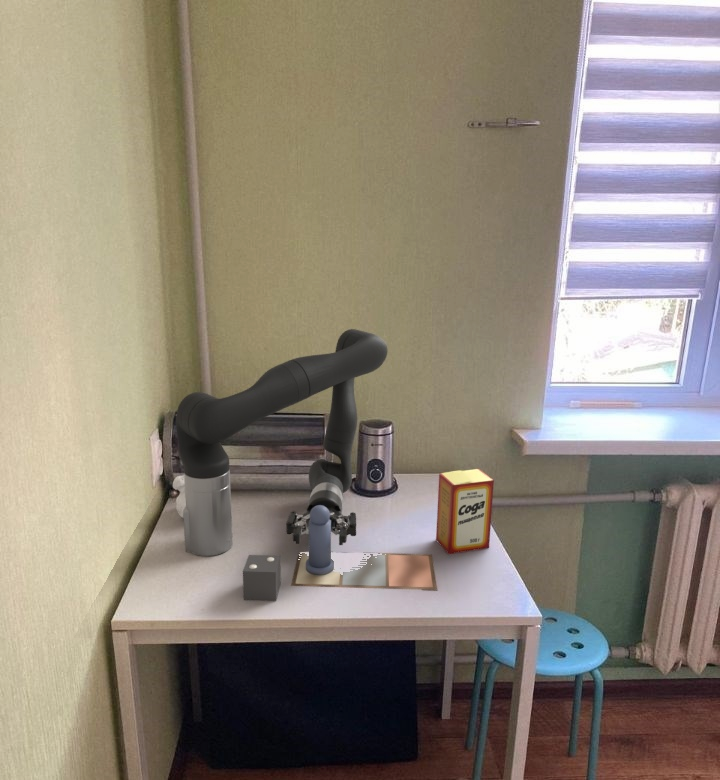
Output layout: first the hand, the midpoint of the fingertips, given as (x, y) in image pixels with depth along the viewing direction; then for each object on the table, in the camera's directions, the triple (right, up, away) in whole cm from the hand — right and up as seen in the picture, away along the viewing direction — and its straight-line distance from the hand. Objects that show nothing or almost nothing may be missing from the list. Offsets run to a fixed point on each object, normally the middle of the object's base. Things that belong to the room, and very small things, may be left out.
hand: (319, 540), depth 130 cm
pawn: (0, -6, +3) cm, 7 cm away
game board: (+9, -7, +3) cm, 12 cm away
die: (-10, -9, -5) cm, 14 cm away
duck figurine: (-32, 0, +25) cm, 40 cm away
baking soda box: (+30, -4, +14) cm, 34 cm away
